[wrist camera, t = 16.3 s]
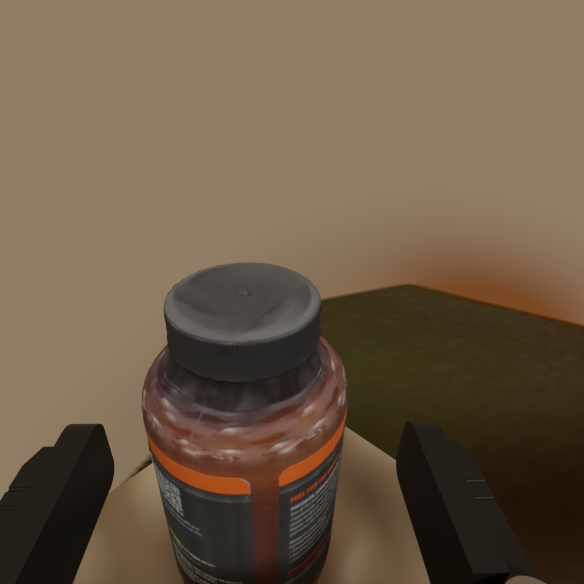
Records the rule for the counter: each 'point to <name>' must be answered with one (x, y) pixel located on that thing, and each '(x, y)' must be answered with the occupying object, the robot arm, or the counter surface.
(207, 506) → the supplement bottle
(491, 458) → the counter surface
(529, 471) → the counter surface
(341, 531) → the small wooden stand
